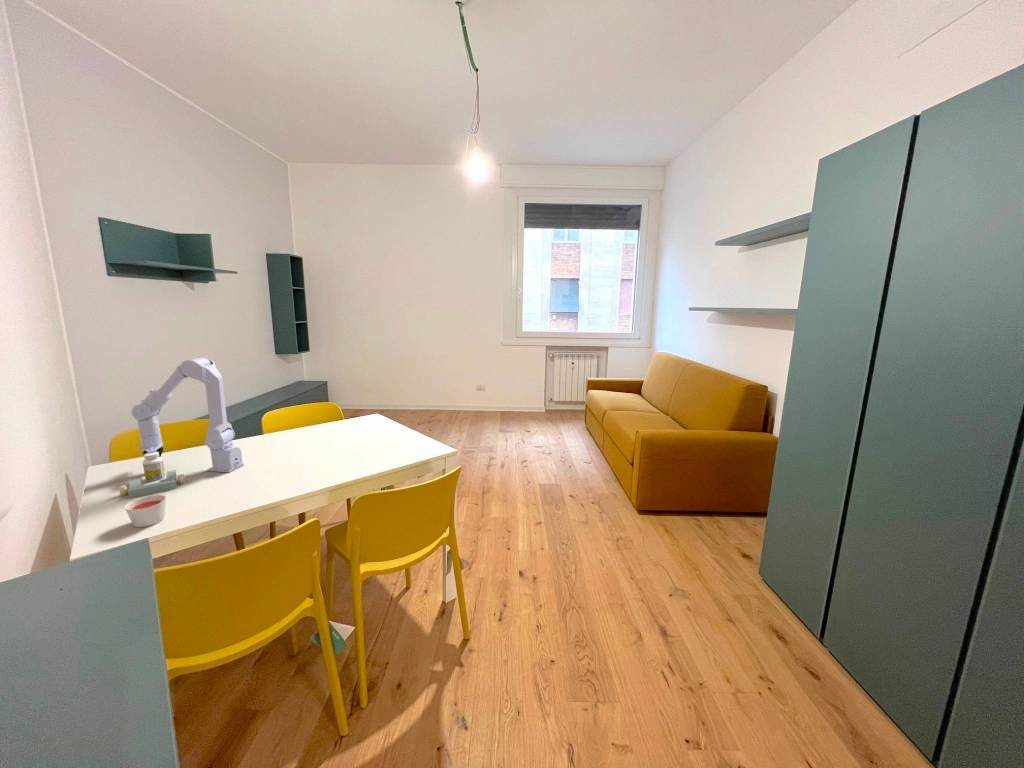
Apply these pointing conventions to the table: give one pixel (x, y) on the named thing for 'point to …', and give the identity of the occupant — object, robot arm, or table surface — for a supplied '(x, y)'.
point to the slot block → (151, 485)
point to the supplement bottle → (153, 467)
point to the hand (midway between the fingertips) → (156, 467)
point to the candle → (146, 510)
